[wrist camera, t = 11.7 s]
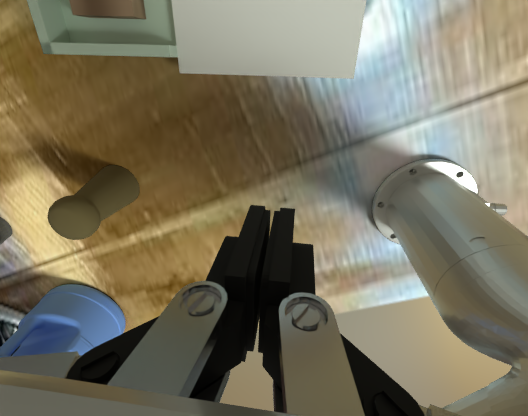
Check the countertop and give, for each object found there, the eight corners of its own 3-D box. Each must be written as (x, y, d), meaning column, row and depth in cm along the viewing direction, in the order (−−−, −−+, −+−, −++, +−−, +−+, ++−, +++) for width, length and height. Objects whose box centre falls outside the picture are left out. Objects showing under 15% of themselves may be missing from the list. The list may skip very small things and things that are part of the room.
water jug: (143, 328, 56) (26, 542, 31) (85, 342, 60) (-58, 541, 36) (92, 272, 49) (-104, 486, 25) (31, 292, 54) (-188, 492, 29)
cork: (135, 166, 38) (83, 204, 29) (142, 204, 41) (97, 250, 32) (93, 163, 39) (28, 199, 29) (103, 201, 42) (47, 245, 32)
